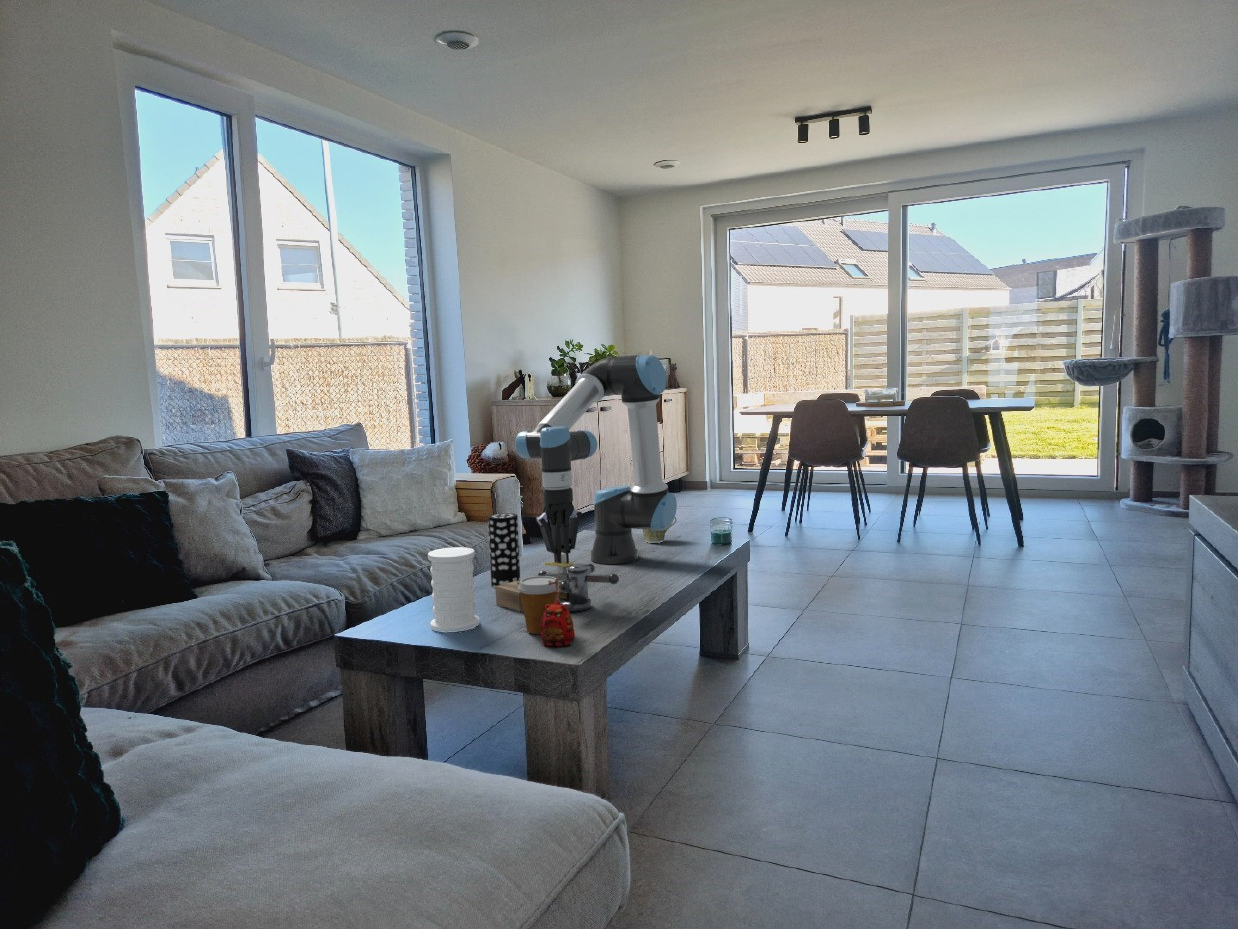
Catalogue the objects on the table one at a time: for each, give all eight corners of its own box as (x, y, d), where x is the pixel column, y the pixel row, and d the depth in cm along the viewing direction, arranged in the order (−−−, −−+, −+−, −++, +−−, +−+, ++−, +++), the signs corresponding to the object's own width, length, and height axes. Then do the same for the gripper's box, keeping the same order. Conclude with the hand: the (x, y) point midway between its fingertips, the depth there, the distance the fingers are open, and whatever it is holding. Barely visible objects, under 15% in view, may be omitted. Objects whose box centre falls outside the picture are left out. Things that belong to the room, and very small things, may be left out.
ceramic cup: (638, 545, 280) (637, 516, 279) (642, 539, 289) (641, 511, 288) (675, 545, 277) (675, 516, 276) (678, 539, 287) (677, 511, 286)
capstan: (631, 597, 212) (630, 555, 211) (606, 622, 191) (605, 575, 190) (554, 593, 218) (552, 552, 217) (522, 617, 198) (520, 572, 196)
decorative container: (469, 634, 187) (465, 557, 185) (422, 632, 189) (418, 557, 187) (486, 619, 198) (482, 547, 196) (441, 618, 200) (437, 546, 198)
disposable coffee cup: (544, 639, 181) (542, 587, 180) (511, 633, 186) (509, 583, 185) (569, 628, 189) (567, 578, 188) (537, 622, 194) (534, 573, 193)
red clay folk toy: (537, 648, 175) (534, 581, 174) (545, 638, 182) (543, 573, 181) (571, 649, 174) (569, 581, 172) (578, 638, 181) (576, 573, 179)
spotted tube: (526, 584, 231) (523, 515, 229) (503, 590, 225) (500, 519, 223) (508, 579, 236) (504, 512, 234) (485, 585, 230) (481, 516, 228)
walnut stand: (550, 590, 223) (549, 570, 222) (588, 601, 211) (588, 580, 211) (496, 604, 210) (495, 583, 210) (534, 616, 199) (533, 594, 198)
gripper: (543, 491, 199) (548, 585, 201) (586, 485, 206) (591, 575, 209) (528, 489, 205) (533, 579, 208) (570, 483, 212) (575, 570, 215)
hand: (562, 577), depth 208 cm, fingers closed
